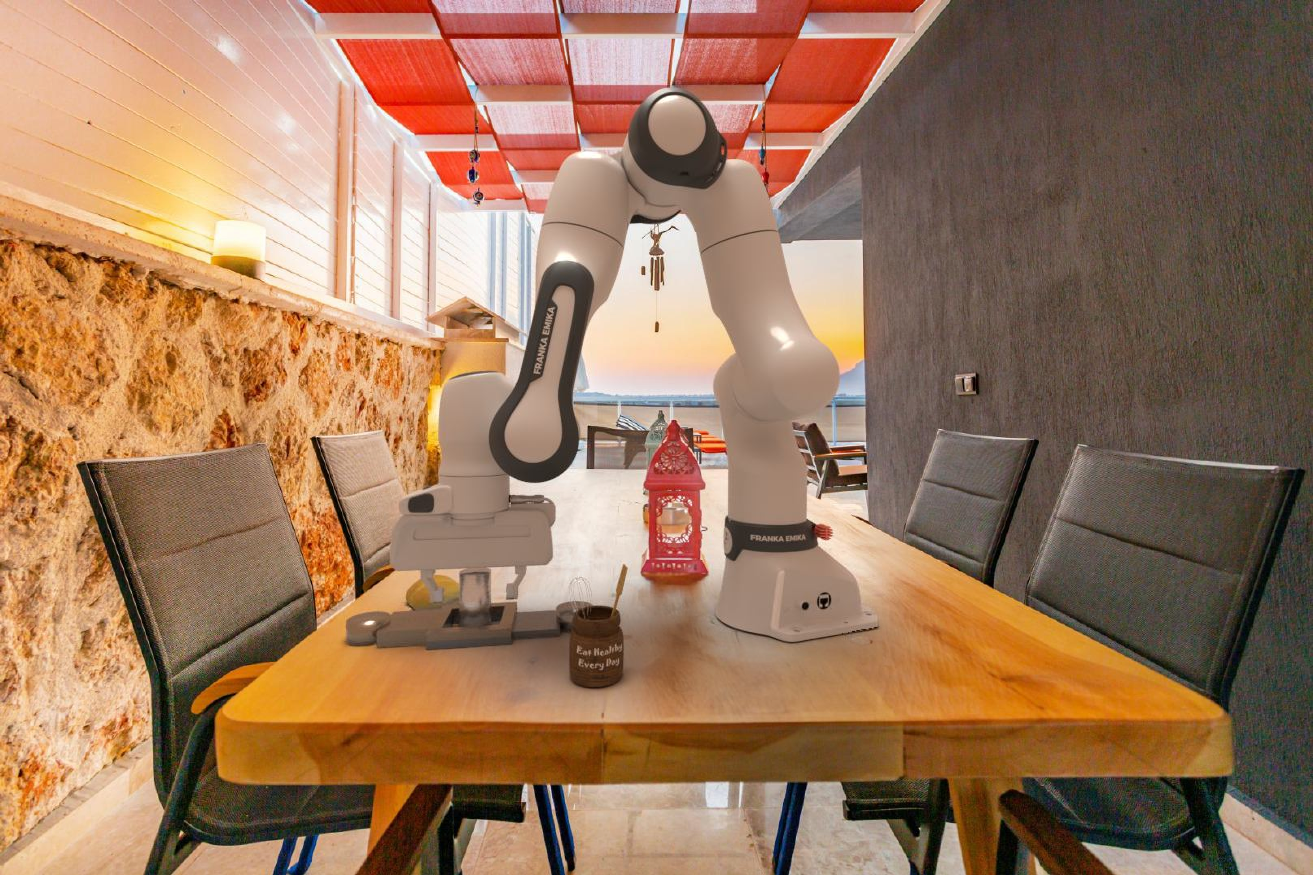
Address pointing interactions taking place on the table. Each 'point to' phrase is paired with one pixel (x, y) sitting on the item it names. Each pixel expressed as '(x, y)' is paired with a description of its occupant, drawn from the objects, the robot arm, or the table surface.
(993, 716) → the table surface
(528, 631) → the lower chain link
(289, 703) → the table surface
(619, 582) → the utensil holder
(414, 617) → the upper chain link
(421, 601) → the bread roll
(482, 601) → the steel pin
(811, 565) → the robot arm
